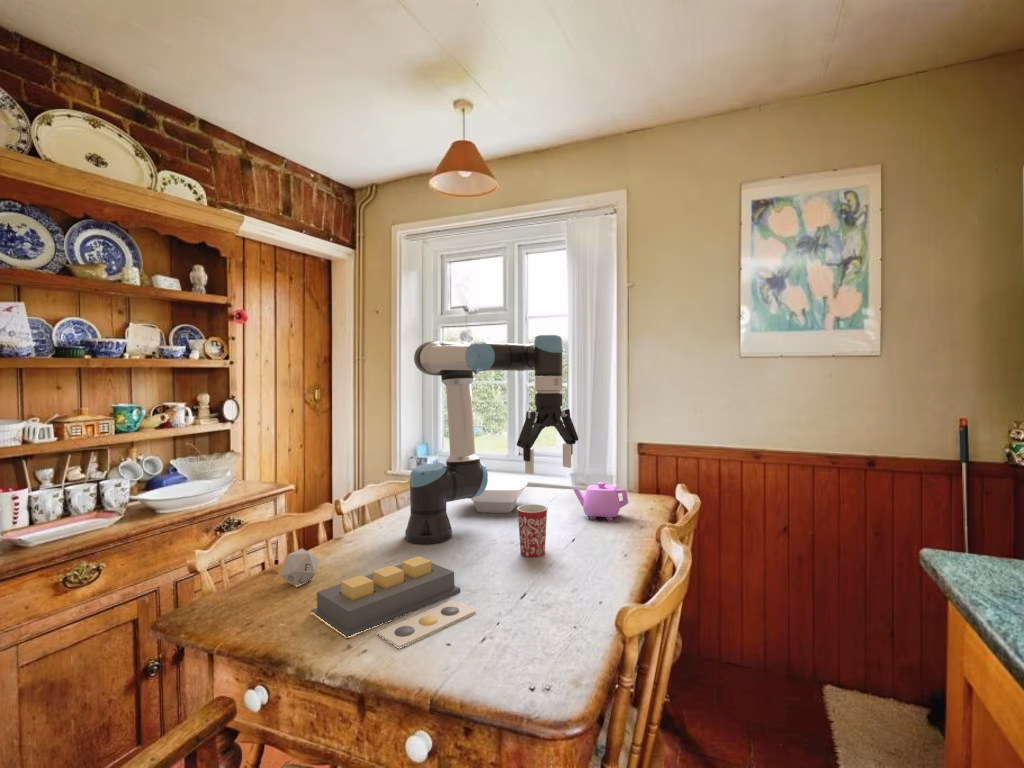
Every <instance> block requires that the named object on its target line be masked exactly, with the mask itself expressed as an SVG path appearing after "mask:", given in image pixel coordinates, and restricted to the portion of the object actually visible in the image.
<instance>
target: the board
mask: <svg viewBox="0 0 1024 768" xmlns="http://www.w3.org/2000/svg"><path fill="white" fill-rule="evenodd" d="M395 567H397V568H399V569H401V570H402V563H401V564H397V565H395ZM364 576H365V577H367V578H369V579H371V580H373V573H370V574H367V575H364ZM373 589H374V593H372V594H370V595H367V596H364V597H361V598H358V599H356V600H353V601H351V600H350V599H348V598H346V597H345V596H343V595H341V583H340V584H337V585H333V586H331V587H328V588H324V589H321V590H318V591H316V607H315V608H313V609H310V612H311V611H312V612H314V613H315V614H316V615H317V616H319V617H320V618H321V619H323V620H324V621H325V622H327V623H328V624H330V625H331V626H332V627H334V628H335V629H337V630H338V631H339V632H341V633H342V634H344V635H345V636H346V637H348V636H351V635H353V634H355V633H358V632H361V631H364V630H366V629H369V628H372V627H374V626H377V625H380V624H382V623H385V622H387V623H389V622H388V621H390V620H392V621H394V620H393V619H395V618H397V617H399V618H401V617H400V616H402V617H404V616H406V615H405V614H407V615H409V614H411V613H414V612H416V611H419V610H420V609H423V608H425V607H428V606H430V605H433V604H435V603H438V602H440V601H442V600H444V599H446V598H449V597H452V596H455V595H457V594H459V593H461V587H459V586H457V585H455V571H454V570H450V569H448V568H446V567H442V566H440V565H438V564H435V563H433V562H431V573H428V574H425V575H422V576H419V577H417V578H412V577H410V576H407V575H405V574H404V582H403V583H400V584H397V585H395V586H392V587H389V588H386V589H383V588H381V587H379V586H378V585H376V584H374V583H373ZM418 609H419V610H418ZM415 610H416V611H415ZM413 611H414V612H413ZM410 612H411V613H410ZM408 613H409V614H408ZM403 615H404V616H403ZM397 619H398V618H397ZM395 620H396V619H395ZM390 622H391V621H390ZM385 624H386V623H385ZM380 626H381V625H380Z"/></svg>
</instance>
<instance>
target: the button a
mask: <svg viewBox="0 0 1024 768" xmlns="http://www.w3.org/2000/svg"><path fill="white" fill-rule="evenodd" d="M365 576H366V575H363V574H360V575H358V576H355V577H354V576H353V577H351V578H348V579H345V580H342V581H341V582H340V584H341V595H343V596H345V597H346V598H348V599H350V600H351V601H353V600H356V599H358V598H361V597H364V596H367V595H370V594H372V593H374V589H373V580H371V579H369V578H367V577H365Z"/></svg>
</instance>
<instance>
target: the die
mask: <svg viewBox="0 0 1024 768" xmlns="http://www.w3.org/2000/svg"><path fill="white" fill-rule="evenodd" d="M319 561H320V559H319V558H318V557H317V556H315V555H313V554H312V553H311V552H309V551H307V550H306V549H304V548H303V547H302V548H300V549H298V550H295V551H293V552H291V553H288V554H286V556H285V560H284V562H283V565H282V568H281V571H280V574H279V577H280V578H282V579H283V580H285V581H286V582H288V583H289V584H290V585H292V584H293V585H292V586H294V585H299V584H303V583H305V582H307V581H309V580H310V579H312V578H313V579H314V577H315V574H316V572H317V568H318V564H319ZM313 579H312V580H313ZM309 582H310V581H309ZM307 583H308V582H307ZM305 584H306V583H305ZM303 585H304V584H303Z"/></svg>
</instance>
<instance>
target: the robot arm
mask: <svg viewBox="0 0 1024 768" xmlns="http://www.w3.org/2000/svg"><path fill="white" fill-rule="evenodd" d="M562 340H563V339H562V337H561V336H560V335H558V334H537V335H536V336H535V337H534V341H533V343H523V344H522V343H504V342H503V343H495V342H493V343H492V342H486V341H485V342H484V341H483V342H481V341H479V342H472V343H470V342H464V341H440V340H439V341H437V340H436V341H435V340H434V341H433V340H432V341H427V342H424V343H421V344H420V345H419V346H418V347H417V348H416V349H415V352H414V354H413V355H414V356H413V361H414V365H415V366H416V368H417V369H418V370H419V372H420V371H421V373H423V374H425V375H429V376H440V380H441V383H442V384H444V386H445V388H446V389H445V391H446V409H447V422H448V440H449V456H448V458H446V460H445V462H446V463H443V462H433V463H425V464H421V465H418V466H416V467H414V468H413V469H412V470H411V472H410V475H409V495H410V496H409V499H410V500H409V503H410V505H409V506H410V513H409V514H410V515H409V518H408V522H407V525H406V529H405V532H404V533H405V537H404V538H405V540H406V541H407V542H409V543H412V544H417V545H419V544H420V545H421V544H422V545H431V544H437V543H442V542H443V543H444V542H445V541H448V540H449V539H451V538H452V537H453V528H452V525H451V522H450V518H449V516H448V512H447V503H449V502H454V501H460V500H465V499H470V498H473V497H476V496H479V495H481V494H482V493H483V492H484V490H485V489H486V486H487V482H488V477H489V473H488V469H487V468H486V465H485V464H484V463H482V462H481V459H480V457H479V456H478V455H477V454H476V446H475V429H474V414H473V413H474V412H473V400H472V383H473V382H474V381H475V380H476V377H475V376H476V375H477V374H479V372H486V371H489V372H491V371H493V372H494V371H503V372H504V371H512V372H513V371H515V372H520V371H521V372H524V371H534V391H535V393H534V405H535V407H536V408H535V410H527V411H526V412H525V413H526V414H525V420H524V423H523V426H522V428H521V431H520V434H519V437H518V439H517V442H516V446H517V447H519V448H521V449H522V451H523V453H522V456H523V459H522V460H523V461H524V465H525V466H524V472H525V474H529V475H534V474H535V457H534V456H535V449H534V448H532V447H533V446H534V444H535V442H536V441H537V439H538V437H539V436H540V434H541V433H542V430H544V429H546V428H548V427H554V428H555V430H556V431H557V432H558V434H559V435H560V437H561V438H562V440H563V441H564V442H563V443H562V467H564V468H568V469H571V468H572V455H573V453H574V452H573V447H574V446H573V445H575V444H576V443H577V442H578V441H579V436H578V434H577V431H576V428H575V426H574V422H573V419H572V418H571V412H570V411H571V410H570V408H562V406H563V393H562V392H561V391H563V351H564V349H563V341H562ZM470 500H471V499H470Z"/></svg>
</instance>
